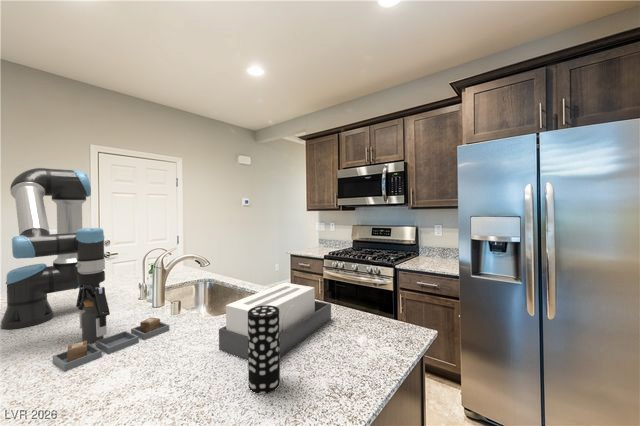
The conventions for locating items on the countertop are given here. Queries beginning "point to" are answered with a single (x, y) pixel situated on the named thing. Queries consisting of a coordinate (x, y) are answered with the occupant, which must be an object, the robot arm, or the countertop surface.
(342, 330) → the countertop surface
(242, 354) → the toaster caddy
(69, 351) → the cube
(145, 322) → the cube
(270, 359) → the spotted tube
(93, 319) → the bottle
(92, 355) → the dish
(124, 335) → the dish
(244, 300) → the toaster
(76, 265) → the robot arm
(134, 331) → the dish
